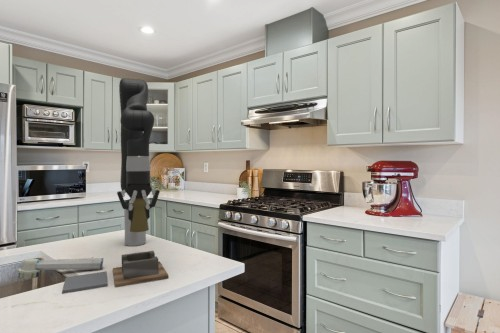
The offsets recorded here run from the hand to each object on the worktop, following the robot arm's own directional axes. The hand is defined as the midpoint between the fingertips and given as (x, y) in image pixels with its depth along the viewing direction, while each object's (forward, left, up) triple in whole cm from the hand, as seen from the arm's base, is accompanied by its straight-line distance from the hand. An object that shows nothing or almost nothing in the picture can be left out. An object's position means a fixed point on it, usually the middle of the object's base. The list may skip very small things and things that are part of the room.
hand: (139, 220), depth 105 cm
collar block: (0, 0, -18) cm, 18 cm away
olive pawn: (0, 0, -3) cm, 3 cm away
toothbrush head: (-13, -24, -19) cm, 33 cm away
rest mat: (0, -16, -18) cm, 24 cm away
